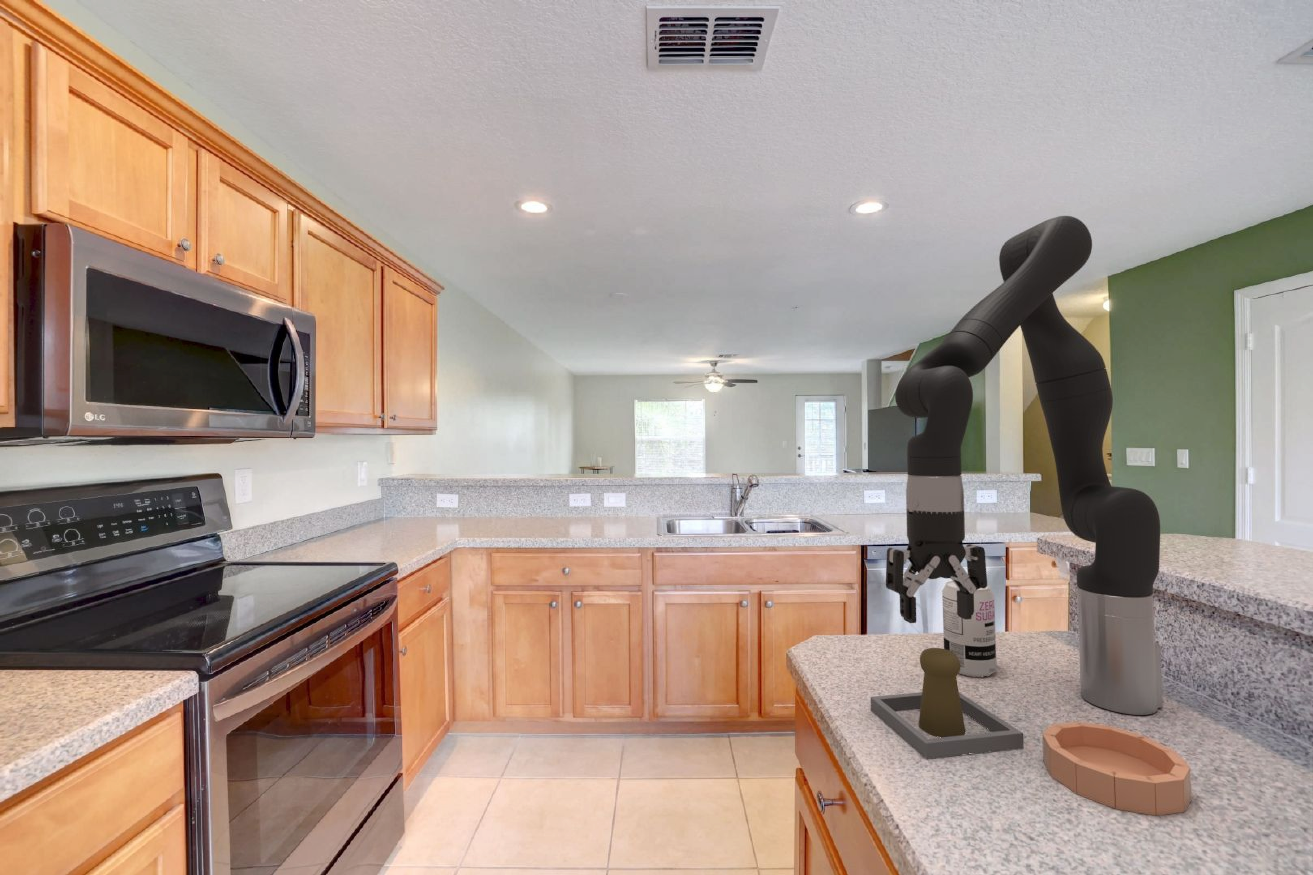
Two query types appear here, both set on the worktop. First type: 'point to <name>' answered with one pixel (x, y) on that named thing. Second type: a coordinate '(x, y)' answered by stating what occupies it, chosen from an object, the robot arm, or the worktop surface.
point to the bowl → (1117, 768)
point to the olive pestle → (940, 694)
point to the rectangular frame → (995, 740)
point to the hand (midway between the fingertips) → (937, 619)
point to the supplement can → (971, 632)
